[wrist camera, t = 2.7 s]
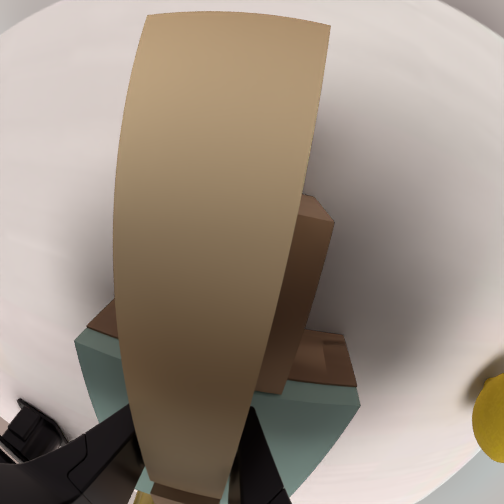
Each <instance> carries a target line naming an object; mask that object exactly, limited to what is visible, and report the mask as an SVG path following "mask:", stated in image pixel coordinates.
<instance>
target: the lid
mask: <svg viewBox="0 0 504 504" xmlns="http://www.w3.org/2000/svg"><path fill="white" fill-rule="evenodd" d="M74 343H75V347H76V351H77V355H78V359H79V363H80V366H81V370H82V373H83V377H84V380H85V383H86V387H87V390H88V393H89V396H90V399H91V402H92V405H93V408H94V410H95V413H96V416H97V418H98V421H99V423H101V422H102V421H104V420H105V419H107V418H108V417H109V416H111V415H112V414H114V413H115V412H117V411H118V410H120V409H121V408H123V407H124V406H125V405H127V404H128V403H129V400H128V395H127V390H126V385H125V379H124V373H123V367H122V361H121V354H120V346H119V339H116V338H113V337H110V336H108V335H105V334H102V333H99V332H97V331H94V330H91V329H89V328H86V329H85V330H84V331H83V332H82V333H81V334H80V335H79V336H78V337H77V338H76V339H75V340H74ZM250 406H253V407H254V408H255V410H256V413H257V416H258V418H259V421H260V424H261V427H262V430H263V432H264V435H265V438H266V440H267V443H268V446H269V448H270V451H271V454H272V456H273V459H274V461H275V464H276V467H277V469H278V472H279V474H280V477H281V479H282V482H283V484H284V488H285V489H286V491H287V494H288V496H289V497H290V496H291V495H292V494H293V493H294V492H295V491H296V490H297V489H298V488H299V487H300V485H301V484H302V483H303V482H304V481H305V480H306V479H307V477H308V476H309V475H310V474H311V473H312V472H313V470H314V469H315V468H316V467H317V466H318V464H319V463H320V462H321V461H322V459H323V458H324V457H325V456H326V454H327V453H328V452H329V450H330V449H331V448H332V446H333V445H334V444H335V442H336V441H337V440H338V438H339V437H340V436H341V434H342V433H343V431H344V430H345V429H346V427H347V426H348V424H349V423H350V421H351V420H352V418H353V417H354V415H355V414H356V412H357V411H358V409H359V408H360V406H361V405H360V401H359V397H358V393H357V389H356V387H345V386H333V385H323V384H314V383H305V382H298V381H290V380H287V381H286V384H285V387H284V389H283V392H282V395H279V394H273V393H266V392H260V391H254V394H253V397H252V401H251V404H250ZM135 489H136V490H139V491H142V492H144V493H147V494H150V495H151V497H152V499H153V502H154V504H228V490H229V477H228V480H227V483H226V486H225V490H224V493H223V496H222V499H218V498H212V497H208V496H203V495H199V494H194V493H190V492H186V491H183V490H179V489H175V488H172V487H168V486H165V485H162V484H159V483H156V482H153V481H150V479H149V476H148V473H147V470H146V467H144V470H143V472H142V474H141V476H140V478H139V480H138V482H137V484H136V487H135Z"/></svg>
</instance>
